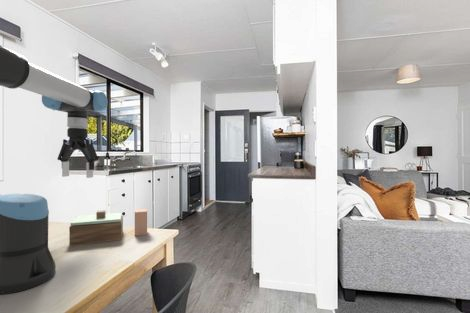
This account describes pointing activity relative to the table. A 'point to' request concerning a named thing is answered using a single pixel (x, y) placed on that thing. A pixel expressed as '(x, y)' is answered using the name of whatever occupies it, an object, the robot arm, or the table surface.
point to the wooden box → (95, 232)
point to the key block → (141, 222)
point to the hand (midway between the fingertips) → (77, 177)
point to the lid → (97, 218)
